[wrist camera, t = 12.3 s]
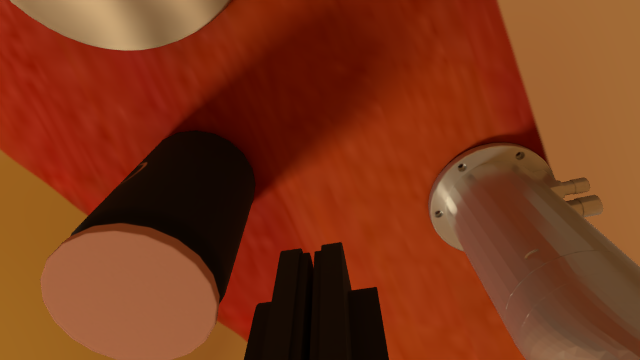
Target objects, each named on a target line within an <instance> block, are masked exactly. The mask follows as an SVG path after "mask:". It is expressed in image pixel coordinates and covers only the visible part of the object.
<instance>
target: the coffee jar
mask: <svg viewBox="0 0 640 360" xmlns="http://www.w3.org/2000/svg"><path fill="white" fill-rule="evenodd" d="M254 190H255V180H254V175H253V170H252V168H251V166H250V164H249V162H248V161H247V159H246V157H245V156H244V154H243V153H242V152H241V151H240V150H239V149H238V148H237V147H235V146H234V145H233V144H232V143H231V142H230V141H228V140H226V139H224V138H222V137H220V136H218V135H215V134H212V133H206V132H201V131H189V132H180V133H177V134H174V135H172V136H170V137H168V138H166V139H164V140H162V142H161V143H160V144H159V145H158V146H157V147H156V148H155V149H154V150H153V151H152V152H151V153H150V154H149V155H148V156H147V157H146V158H145V159H144V160H143V161H142V162H141V163H140V164H139V165H138V166H137V167H136V168H135V169H134V170H133V171H132V172H131V173H130V174H129V175H128V176H127V177H126V178H125V179H124V180H123V181H122V182H121V183H120V184H119V185H118V186H117V187H116V188H115V189H114V190H113V191H112V192H111V194H110V195H109V196H108V197H107V198H106V199H105V200H104V201H103V202H102V203H101V204H100V205H99V206H98V207H97V208H96V209H95V210H94V211H93V212H92V213H91V214H90V215H89V216H88V217H87V218H86V219H85V220H84V221H83V222H82V223H81V224H80V225H79V226H78V227H77V228H76V230H75V231H74V232H73V233H72V234H71V236H70V237H69V238H68V239H67V240H65V241H64V242H63V243H62V244H61V245H60V246H59V247H58V248H57V249H56V250H55V251H54V252H53V253H52V254H51V255H50V256H49V257H48V259H47V261H46V264H45V267H44V271H43V274H42V277H41V288H42V295H43V301H44V303H45V305H46V307H47V308H48V310H49V312H50V314H51V316H52V318H53V319H54V321H55V322H56V323H57V324H58V325H59V326H60V327H61V328H62V329H63V330H64V331H65V332H66V333H67V334H68V335H69V336H70V337H71V338H72V339H74V340H76V341H77V342H79V343H81V344H82V345H84V346H85V347H87V348H89V349H91V350H92V351H94V352H97V353H100V354H103V355H106V356H109V357H111V358H114V359H117V360H172V359H175V358H178V357H181V356H184V355H186V354H189V353H190V352H192V351H193V350H194V349H196V348H197V347H198V346H199V345H201V344H202V343H203V342H205V341H206V339H207V338H208V336H209V334H210V333H211V331H212V329H213V328H214V326H215V324H216V321H217V316H218V307H219V304H220V302H221V300H222V299H223V297H224V295H225V292H226V289H227V286H228V282H229V279H230V276H231V272H232V269H233V265H234V262H235V259H236V255H237V252H238V249H239V245H240V242H241V238H242V235H243V232H244V228H245V225H246V222H247V218H248V215H249V211H250V208H251V205H252V201H253V197H254Z"/></svg>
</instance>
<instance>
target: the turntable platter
mask: <svg viewBox="0 0 640 360" xmlns="http://www.w3.org/2000/svg"><path fill="white" fill-rule="evenodd" d="M10 1H11V2H12V3H14V4H15V5H16V6H17V7H19V8H20V9H21V10H23V11H24V12H25V13H26V14H28V15H29V16H30V17H32V18H34V19H35V20H37V21H38V22H40V23H41V24H43V25H45V26H46V27H48V28H50V29H52V30H54V31H56V32H58V33H60V34H62V35H64V36H66V37H68V38H71V39H74V40H76V41H79V42H82V43H85V44H88V45H93V46H97V47H101V48H106V49H116V50H144V49H149V48H155V47H160V46H163V45H166V44H169V43H172V42H175V41H178V40H180V39H183V38H185V37H187V36H189V35H191V34H193V33H195V32H197V31H199V30H200V29H202V28H203V27H204V26H206V25H207V24H209V23H210V22H211V21H213V20H214V19H215V18H216V17H217V16H218V15H219V14H220V13H221V12H222V11H223V10H224V9H225V8H226V7H227V6H228V4H229V3H230V2H231V0H10Z"/></svg>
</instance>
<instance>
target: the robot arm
mask: <svg viewBox="0 0 640 360" xmlns="http://www.w3.org/2000/svg"><path fill="white" fill-rule="evenodd" d="M460 164H461V165H460ZM459 165H460V166H459ZM589 189H590V184H589V182H588V180H587V179H586V178H579V179H574V180H570V181H567V182H562V183H561V182H560V181H556V180H555V178H554V175H553V173H552V170H551V168H550V167H549V166H548V164H547V163H546V162H545V160H543V159H542V158H541V157H540V156H539V155H537V154H536V153H535V152H533V151H531V150H530V149H528V148H526V147H523V146H521V145H518V144H512V143H490V144H485V145H481V146H478V147H475V148H473V149H470V150H468V151H466V152H464V153H463V154H461V155H459V156H458V157H456V158H455V159H454V160H453V161H451V162H450V163H449V164H448V165H447V166H446V167H445V168H444V169H443V171H442V172H441V173H440V174H439V176H438V177H437V179H436V181H435V182H434V184H433V187H432V190H431V192H430V197H429V204H428V205H429V215H430V218H431V221H432V224H433V226H434V228H435V230H436V232H437V233H438V234H439V236H440V237H441V238H442V239H443V240H444V241H445V242H446V243H448V244H449V245H451V246H453V247H454V248H456V249H458V250H461V251H464V252H465V253H466V255H467V257H468V258H469V260H470V262H471V264H472V266H473V268H474V269H475V271H476V273H477V275H478V277H479V279H480V280H481V282H482V284H483V286H484V288H485V289H486V291H487V293H488V295H489V297H490V299H491V300H492V302H493V304H494V306H495V308H496V310H497V311H498V313H499V315H500V317H501V319H502V320H503V322H504V324H505V326H506V328H507V330H508V331H509V333H510V335H511V337H512V339H513V341H514V342H515V344H516V346H517V347H518V349H519V350H520V352H521V353H522V355H523V356H524V357H525V358H526V360H640V267H639V266H638V265H637V264H636V263H635V262H633V261H632V260H631V259H630V258H629V257H628V256H627V255H626V254H624V253H623V252H622V251H621V250H620V249H619V248H618V247H617V246H615V245H614V244H613V243H612V242H611V241H610V240H608V239H607V238H606V237H605V236H604V235H603V234H602V233H600V232H599V231H598V230H597V229H596V228H595V227H594V226H593V225H592V224H590V223H589V222H588V221H587V220H586V219H585V218H584V217H588V216H593V215H599V214H601V213H602V211H603V205H602V202H601V200H600V199H599V197H598V196H596V195H592V196H587V197H581V198H576V199H574V200H570V201H564V200H563V198H564V196H565V195H569V194H578V193H583V192H587V191H589ZM244 360H389V357H388V351H387V345H386V339H385V333H384V327H383V321H382V315H381V309H380V303H379V297H378V291H377V287H373V288H366V289H359V290H351V285H350V280H349V275H348V270H347V265H346V260H345V255H344V250H343V246H342V243H341V242H339V243H333V244H326V245H322V247H321V251H316V252H315V255H314V268H313V264H312V259H311V256H310V253H303V251H302V249H301V248H300V249H293V250H287V251H281V253H280V258H279V263H278V269H277V275H276V280H275V286H274V291H273V297H272V302H266V303H259V304H258V305H257V306H256V309H255V313H254V317H253V322H252V326H251V331H250V335H249V339H248V344H247V348H246V353H245V357H244Z"/></svg>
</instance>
